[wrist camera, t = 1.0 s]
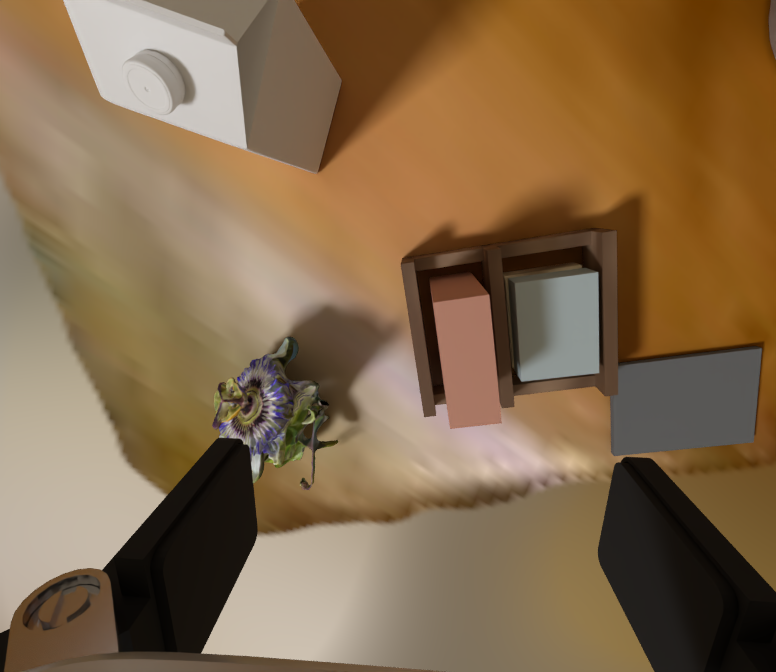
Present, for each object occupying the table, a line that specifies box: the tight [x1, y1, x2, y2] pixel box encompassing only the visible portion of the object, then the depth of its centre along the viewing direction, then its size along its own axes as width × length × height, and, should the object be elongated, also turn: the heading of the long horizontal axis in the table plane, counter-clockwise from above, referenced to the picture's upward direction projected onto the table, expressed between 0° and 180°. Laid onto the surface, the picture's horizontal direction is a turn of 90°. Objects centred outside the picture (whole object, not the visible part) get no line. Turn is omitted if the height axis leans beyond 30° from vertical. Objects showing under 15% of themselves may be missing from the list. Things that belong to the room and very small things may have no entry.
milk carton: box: [63, 0, 342, 174], centre depth 24 cm, size 7×7×19 cm
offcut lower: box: [503, 262, 582, 368], centre depth 36 cm, size 6×8×2 cm
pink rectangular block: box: [429, 272, 502, 429], centre depth 32 cm, size 4×9×10 cm, turn 9°
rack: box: [401, 228, 618, 417], centre depth 35 cm, size 16×13×4 cm
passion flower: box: [213, 337, 338, 490], centre depth 37 cm, size 11×11×12 cm
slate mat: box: [610, 346, 762, 456], centre depth 37 cm, size 12×9×1 cm
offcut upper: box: [508, 268, 599, 382], centre depth 33 cm, size 6×8×2 cm
